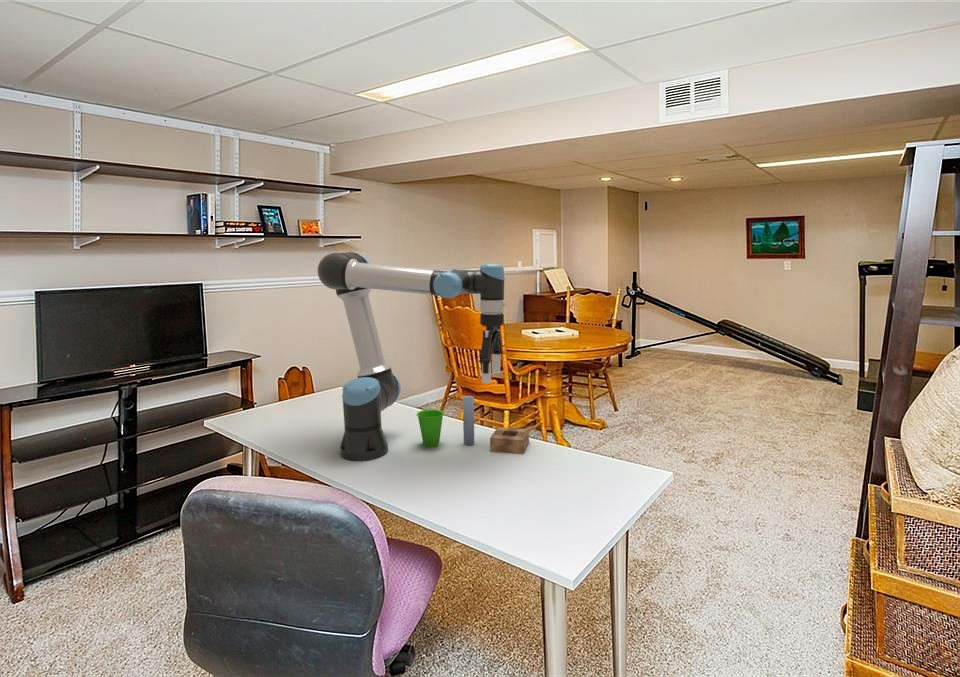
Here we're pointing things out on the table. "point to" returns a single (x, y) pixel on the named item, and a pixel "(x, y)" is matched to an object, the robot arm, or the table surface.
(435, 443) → the cup
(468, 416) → the blue-grey rounded rod
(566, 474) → the table surface
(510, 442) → the wooden socket block
